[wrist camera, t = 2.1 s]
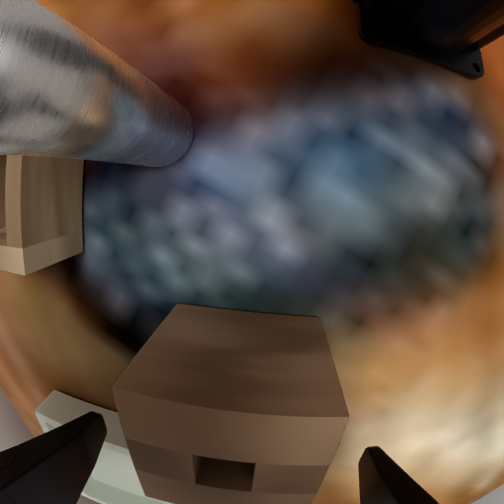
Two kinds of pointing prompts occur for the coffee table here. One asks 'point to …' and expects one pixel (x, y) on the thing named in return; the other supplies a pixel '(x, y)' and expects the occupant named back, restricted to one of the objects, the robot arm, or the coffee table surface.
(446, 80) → the coffee table surface
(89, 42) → the cylinder
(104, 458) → the tray
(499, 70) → the coffee table surface
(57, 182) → the beige square frame
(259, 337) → the walnut block
